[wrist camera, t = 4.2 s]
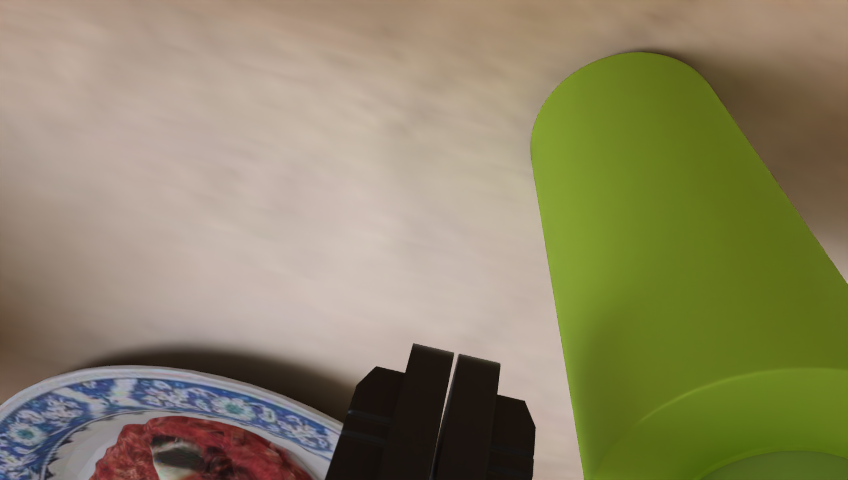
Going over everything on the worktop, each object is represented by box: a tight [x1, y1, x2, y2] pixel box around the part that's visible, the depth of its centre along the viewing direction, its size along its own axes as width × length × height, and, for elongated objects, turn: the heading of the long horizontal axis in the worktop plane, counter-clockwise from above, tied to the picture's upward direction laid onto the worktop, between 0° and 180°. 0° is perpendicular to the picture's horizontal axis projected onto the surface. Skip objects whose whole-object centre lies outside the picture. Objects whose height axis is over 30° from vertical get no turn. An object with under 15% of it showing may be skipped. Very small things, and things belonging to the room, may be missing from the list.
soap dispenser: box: [530, 52, 848, 480], centre depth 15 cm, size 6×7×20 cm
